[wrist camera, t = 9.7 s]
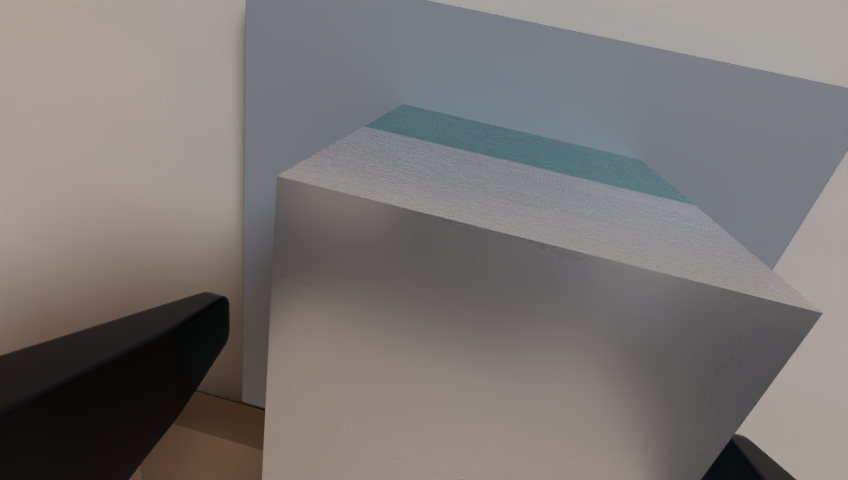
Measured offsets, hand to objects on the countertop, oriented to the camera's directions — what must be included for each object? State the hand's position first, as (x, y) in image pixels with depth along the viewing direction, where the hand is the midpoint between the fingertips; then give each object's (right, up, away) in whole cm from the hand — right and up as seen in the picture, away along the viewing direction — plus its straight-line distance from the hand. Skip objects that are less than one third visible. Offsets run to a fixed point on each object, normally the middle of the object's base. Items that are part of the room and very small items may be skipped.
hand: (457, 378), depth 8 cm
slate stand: (+1, +2, +4) cm, 5 cm away
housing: (+1, +1, +3) cm, 3 cm away
